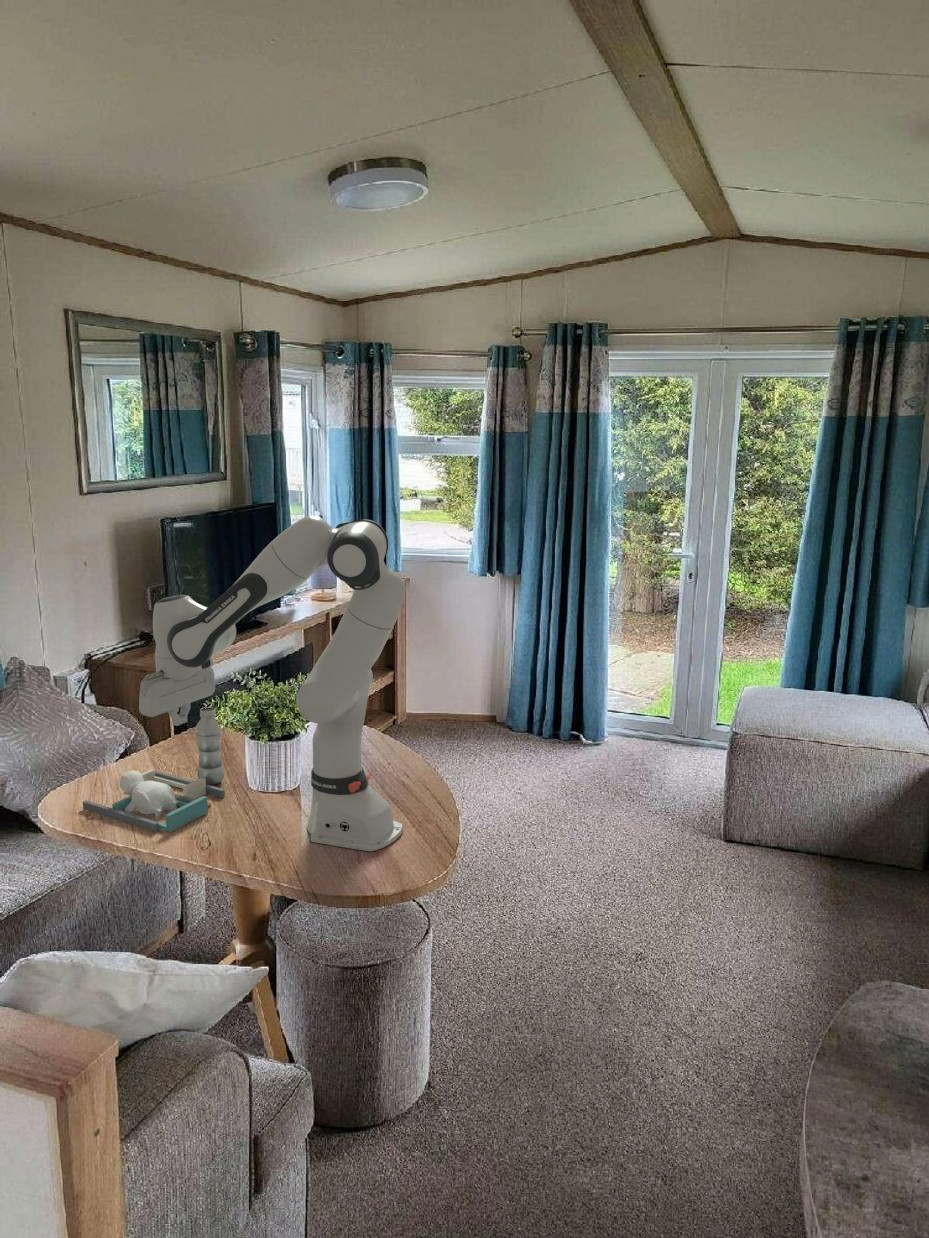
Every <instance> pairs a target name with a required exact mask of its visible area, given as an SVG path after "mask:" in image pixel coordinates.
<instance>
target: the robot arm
mask: <svg viewBox="0 0 929 1238" xmlns="http://www.w3.org/2000/svg"><path fill="white" fill-rule="evenodd" d="M388 550H389V538H388V535H387V533H386V531H385V529H384V528H383V527H382V526H381V524H379V523H377V522H376V521H374V520H371V519H357V520H352V521H348V522H342V523H338V524H337V525H336V527H335V528H334V527H332V526H331V525H330V524H329V523H328V522H327V521H325V520H324V519H323V518H321V517H318V516H315V515H308V516H303V517H302V518H300V519H299V520H297V521H296V522H294V523H293V524H291V525H290V526H287V527H286V529H284V530H283V531H282V532H280V533H279V534H278V535H277V536H276V537H275V538H274V539H273V540H271V542H269V544H267V546H265V547H264V549H262V551H261V552H260V553H259V554H258V555H257V557H255V559H254V560H253V561H252V562H251V564H249V566H248V567H247V568H246V569H245V571H244V572H243V573H242V574H241V575H240V577H239V578H238V579H237V580H236V581H235V582H234V583H233V584H232V585H231V586H230V587H229V588H228V589H227V590H226V591H225V592H223V593H222V594H221V595H220V596H219V597H218V598H217V599H216V600H215V601H214V602H212V603H211V604H210V605H209V606H205V605H203V604H200V603H198V602H197V601H195V600H194V599H193V598H192V597H191V596H189V595H188V594H175V595H171V596H167V597H164V598H160V599H159V600H157V601H156V603H154V606H153V609H152V610H153V612H152V630H153V631H152V632H153V638H154V641H155V651H154V660H155V661H154V662H155V672H153V673H150V674H149V673H148V674H147V675H145V676H144V678H143V679H142V680H141V682H139V683H140V687H139V695H138V696H139V697H138V704H139V705H138V710H139V712H140V714H141V715H142V716H144V717H145V716H146V717H150V718H152V717H153V718H154V717H156V716H159V715H162V714H165V713H168V715H169V716H170V718H171V720H172V721H171V722H172V725H173V726H176V727H178V726H180V725H183V724H186V723H188V715H189V712H190V710H191V705H192V704H191V703H194V702H197V701H199V700H201V699H205V698H207V697H211V696H213V695H214V692H215V690H216V679H215V677H216V676H215V672H214V669H213V668H212V667H213V665H214V659H213V657H215V656H216V655H219V654H220V653H221V652H223V651H225V650H227V649H228V648H229V647H231V646H232V645H233V643H234V642H235V640H236V638H237V625H236V623H238V622H239V621H240V620H242V618H244V617H245V616H246V615H247V614H248V613H250V612H251V611H253V610H255V609H257V608H259V607H261V606H263V605H265V604H267V603H270V602H272V601H274V600H276V599H279V598H281V597H283V596H285V595H287V594H289V593H291V592H292V591H294V590H295V589H297V588H299V587H300V586H301V585H302V584H304V583H305V582H306V581H307V580H308V579H309V578H311V576H313V575H314V574H315V573H316V572H317V571H318V570H319V569H320V568H322V567H324V566H325V565H328V568H329V569H330V571H331V572H332V574H333V575H334V576H336V578H338V579H339V580H340V581H342V582H344V583H345V584H346V585H347V586H348V587H350V588H351V589H352V590H353V593H352V596H351V598H350V600H349V601H348V604H347V606H346V608H345V610H344V612H343V615H342V617H341V619H340V621H339V623H338V626H337V628H336V630H335V632H334V633H333V635H332V637H331V640H330V641H329V642H328V644H327V646H326V647H325V648H324V650H323V651H322V653H321V655H320V656H319V658H318V660H317V661H316V663H315V665H314V666H313V667H312V669H311V671H310V672H309V674H308V676H307V678H306V679H305V681H304V682H303V684H302V685H301V686H300V687H299V690H298V691H297V694H296V706H297V708H298V711H299V713H300V715H301V716H302V717H303V718H304V719H305V720H307V721H309V722H310V723H314V724H316V728H315V730H314V733H313V736H312V768H311V776H310V784H311V787H312V799H311V807H310V808H311V809H310V814H309V817H308V822H307V824H306V829H307V831H308V833H309V834H310V841H311V842H312V843H317V844H322V845H323V844H324V845H328V846H334V847H340V848H347V849H353V850H359V851H365V852H374V851H378V850H380V849H383V848H385V847H387V846H389V845H391V844H393V842H395V841H396V840H398V838H399V837H401V835H402V834H403V831H404V828H403V827H404V826H403V824H402V823H400V822H399V821H396V820H394V815H393V811H392V807H391V806H390V804H389V802H387V801H386V800H385V799H384V798H383V797H382V796H381V795H380V794H379V793H377V791H376V790H375V789H373V788H372V787H371V785H369V780H371V779H372V773H369V774H368V775H366V772H365V770H364V768H363V766H362V739H363V738H362V737H363V730H364V729H363V728H364V724H365V718H366V714H367V713H366V712H367V707H368V699H369V694H370V690H371V688H372V686H373V681H374V676H373V675H374V674H373V670H372V667H373V666H374V665H375V663H376V662H377V660H378V659H379V657H380V655H381V653H382V651H383V649H384V648H385V645H386V644H387V641H388V639H389V637H390V635H391V633H392V631H393V629H394V626H395V624H396V622H397V620H398V618H399V615H400V613H401V610H402V607H403V605H404V604H403V603H404V600H405V595H406V591H407V586H406V583H405V580H404V579H403V578H402V576H400V575H399V573H397V572H396V571H395V570H392V569H389V567H388V566H387V565H386V563H385V561H384V560H385V557H386V555H387V553H388ZM179 708H180V712H179ZM178 712H179V713H178Z"/></svg>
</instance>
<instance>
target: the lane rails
mask: <svg viewBox="0 0 929 1238" xmlns="http://www.w3.org/2000/svg"><path fill="white" fill-rule="evenodd" d="M155 776H158V777H162V778H165V779H169V780H173V781H176V782H180V783H183V784H190V783H192V782H194V781H195V780H191V779H188V778H184V777H182V776H181V777H180V776H177V775H173V774H170V773H166V772H163V771H158V770H155ZM225 791H226V790H225V788H220V787H217V786H214V785H207V784H206V794H205V795H210V796H213V797H217V798H220V799H223V798H225V796H226V794H225V793H226V792H225ZM174 795H175V799H176V800H179V801H183V802H186V803H190V802H192V801H194V800H196V799H197V798H196V799H192V798H189V797H185V796H183V794H182V795H181V794H177V793H174ZM82 809H85V810H84V811H86V810H88V811H87V812H89V811H90V813H93V814H96V815H100V816H102V817H106V818H109V819H112V820H115V821H119V822H121V823H124V824H128V825H131V826H134V827H137V828H141V829H144V830H147V831H150V832H154V833H158V832H159V831H160V829H159V823H160V822H159V823H158V821H156V820H152V819H149V818H146V819H145V817H143V816H139V815H136V816H135V814H133V815H132V813H130V814H129V813H126V812H122V811H119V810H116V809H113V808H112V807H109V806H106V805H103V804H99V803H97V802H93V801H90V800H83V801H82ZM142 817H143V818H142ZM148 819H149V820H148ZM155 821H156V822H155Z"/></svg>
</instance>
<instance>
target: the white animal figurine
mask: <svg viewBox="0 0 929 1238" xmlns="http://www.w3.org/2000/svg"><path fill="white" fill-rule="evenodd" d="M141 774H142V773H141V772H140V771H138V770H129V771H128V770H127V771H126V772H124V773H123V774H122V775H121V776H120V778H119V788H120V789H121V790H122V791H124V792H125V793H126V794H127V795H132V801H131V802H130V804H129V805H128V806H127V807H126V808H125V810H124V812H126V813H130V814H131V812H133V811H136V810H137V811H139V812H140V813H141V814H144V815H154V817H155V818H154V819H155V821H157V820H159V819H160V816H161V814H162V813H163V812H165V811H167V810H171V812H172V811H174V810H176V809H177V805H176V804H177V801H175V795H174V794H175V793H174V791H173V788H172V786H171V785H168V784H164V783H161V782H157V781H154V780H153V781H144V778H143V777H142V775H141Z"/></svg>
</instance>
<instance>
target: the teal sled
mask: <svg viewBox="0 0 929 1238" xmlns="http://www.w3.org/2000/svg"><path fill="white" fill-rule="evenodd" d="M131 801H132V794H130V795H129V796H127V797H125V798H122V799H120V800H119V801H116V802H112V803H111V804H112V805H111V808H113V809H116V810H119V811H122V812H124V810H125V808H126V807H127V806H128V805H129V804H130V802H131ZM175 801H177V804H176V807H179V808H176V809H175V810H174V811H172V810H171V812H168V813H167V814H165V824H164V823H162V822H158V821H157V820H154V821H155V822H158V823H159V830H162V831H165V832H169V833H172V832H174V831H176V830H177V829H180V828H182V827H183V826H186V825H187V824H189V823H190V822H191V823H192V822H193V821H195V820H197V819H198V818H201V817H202V816H204V815H206V814H208V813H209V808H208V796H205V795H202V796H200V797H198V798H196V800H194V801H192V802H190V803H186V802H183V801H179V800H176V799H175ZM129 814H132V813H131V812H130V813H129ZM132 815H135V814H132ZM135 816H137V815H135ZM141 817H142V818H145V817H143V816H141ZM145 819H148V820H150V819H149V818H145Z"/></svg>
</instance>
